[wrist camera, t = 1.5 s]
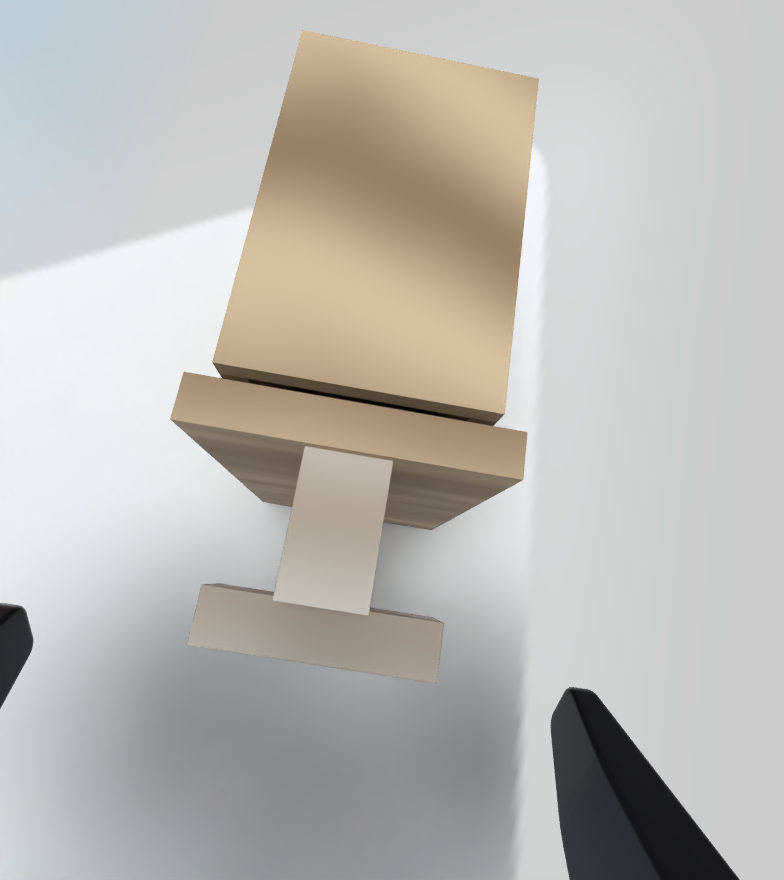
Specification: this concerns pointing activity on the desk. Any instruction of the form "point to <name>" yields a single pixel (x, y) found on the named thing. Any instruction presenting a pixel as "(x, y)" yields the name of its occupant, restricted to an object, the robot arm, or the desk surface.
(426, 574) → the desk surface
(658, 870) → the robot arm
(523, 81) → the carton
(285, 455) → the flap
